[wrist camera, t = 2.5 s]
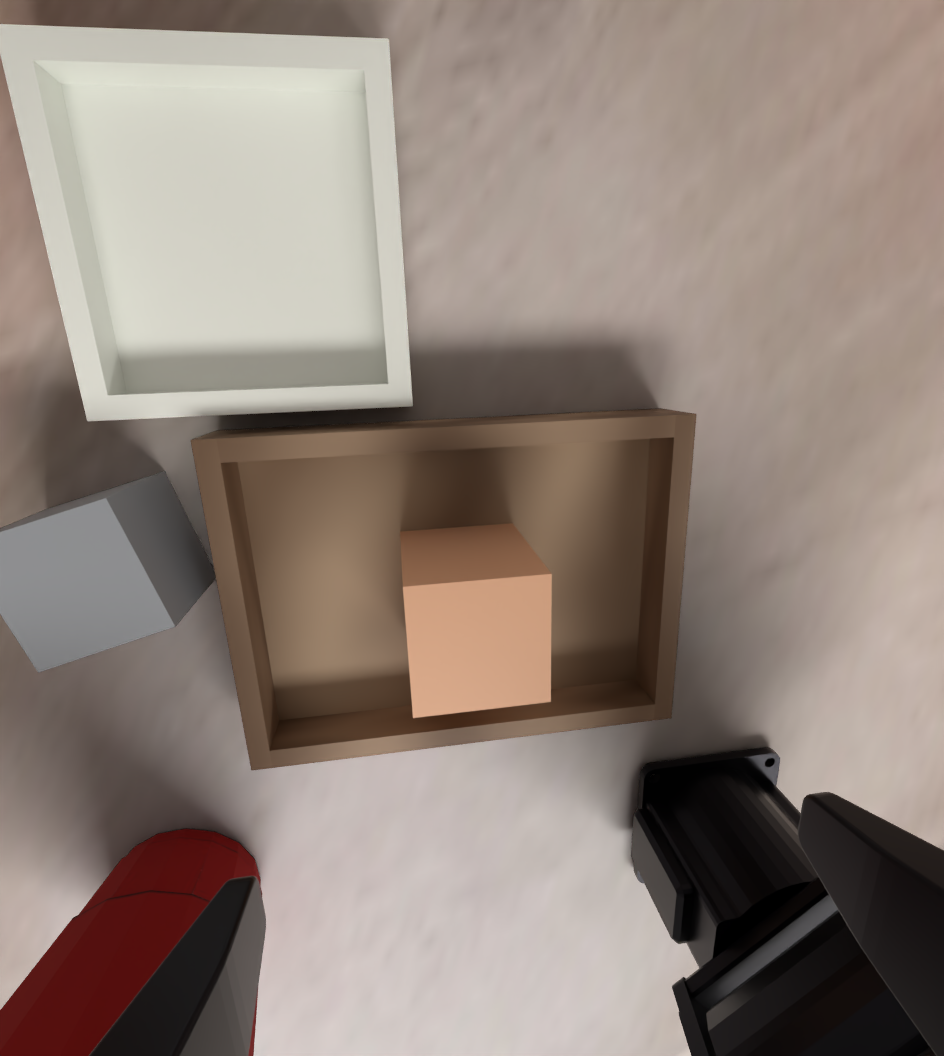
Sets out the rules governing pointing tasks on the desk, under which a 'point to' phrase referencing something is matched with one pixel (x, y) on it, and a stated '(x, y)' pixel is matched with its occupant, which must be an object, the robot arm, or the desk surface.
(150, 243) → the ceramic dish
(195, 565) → the slate rubber block
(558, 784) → the desk surface
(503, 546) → the terracotta block
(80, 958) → the plastic cup
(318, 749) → the walnut box
